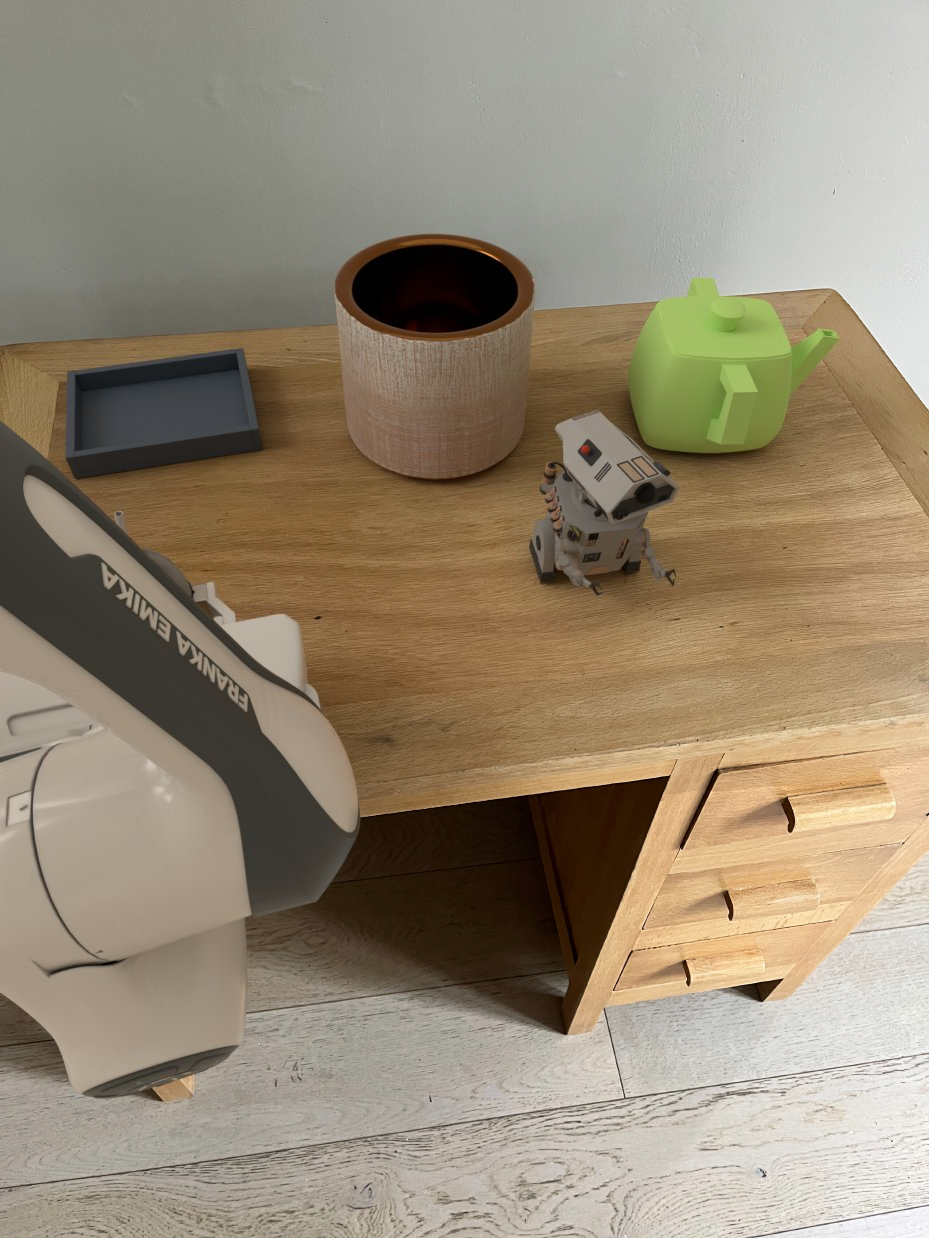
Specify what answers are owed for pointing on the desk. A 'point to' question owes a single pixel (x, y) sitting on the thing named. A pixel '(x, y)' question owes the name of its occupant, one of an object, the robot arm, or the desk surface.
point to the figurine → (599, 504)
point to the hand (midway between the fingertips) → (138, 601)
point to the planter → (435, 352)
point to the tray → (159, 413)
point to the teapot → (717, 372)
